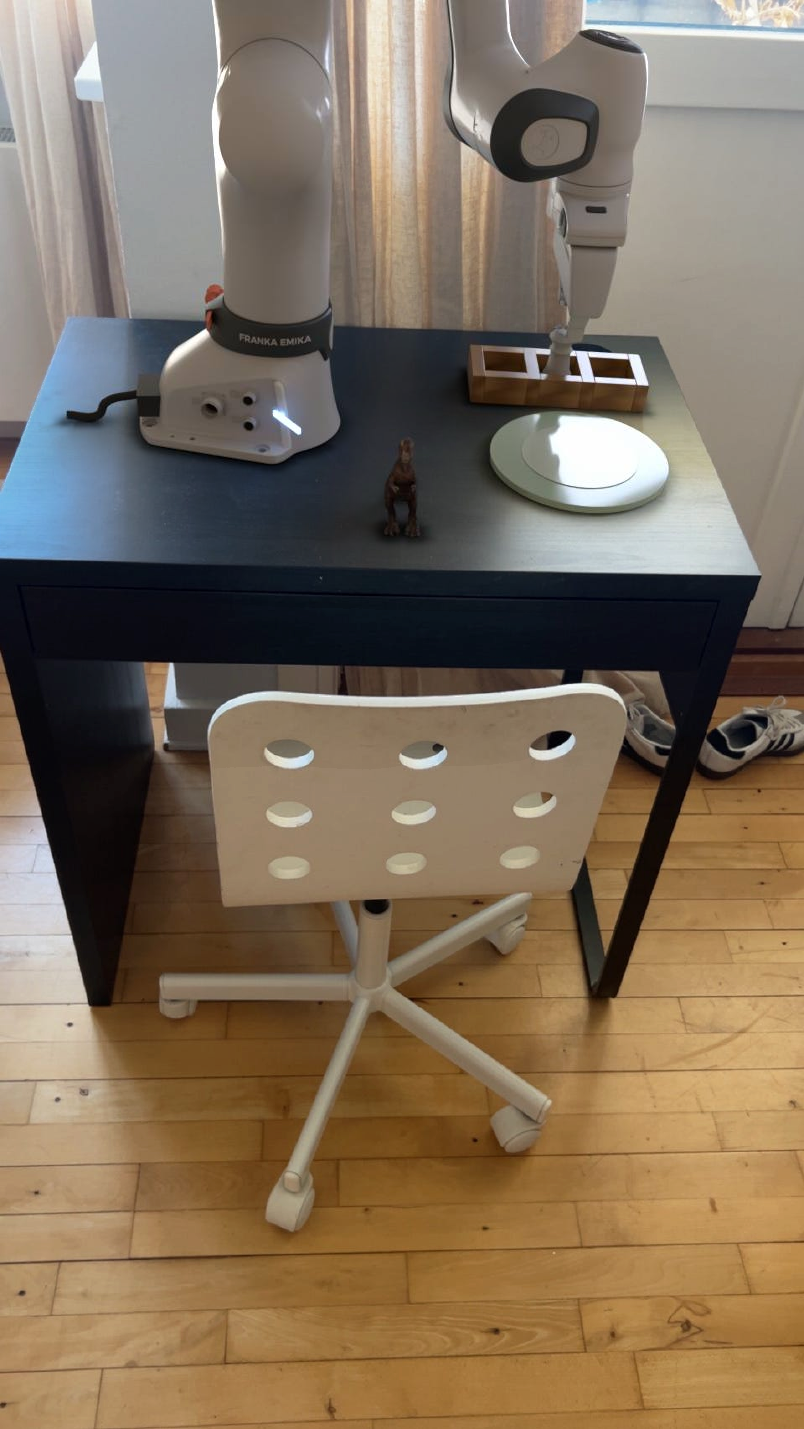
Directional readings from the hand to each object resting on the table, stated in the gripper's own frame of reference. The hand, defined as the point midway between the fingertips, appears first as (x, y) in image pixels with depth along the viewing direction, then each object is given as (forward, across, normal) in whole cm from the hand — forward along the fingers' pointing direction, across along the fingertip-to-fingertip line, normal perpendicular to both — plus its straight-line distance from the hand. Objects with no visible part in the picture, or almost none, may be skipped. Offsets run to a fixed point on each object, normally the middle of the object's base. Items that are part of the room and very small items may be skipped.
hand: (569, 321), depth 136 cm
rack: (+9, 0, -1) cm, 9 cm away
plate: (+9, +17, 0) cm, 19 cm away
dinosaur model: (+9, +28, -20) cm, 35 cm away
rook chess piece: (+9, 0, -1) cm, 9 cm away
